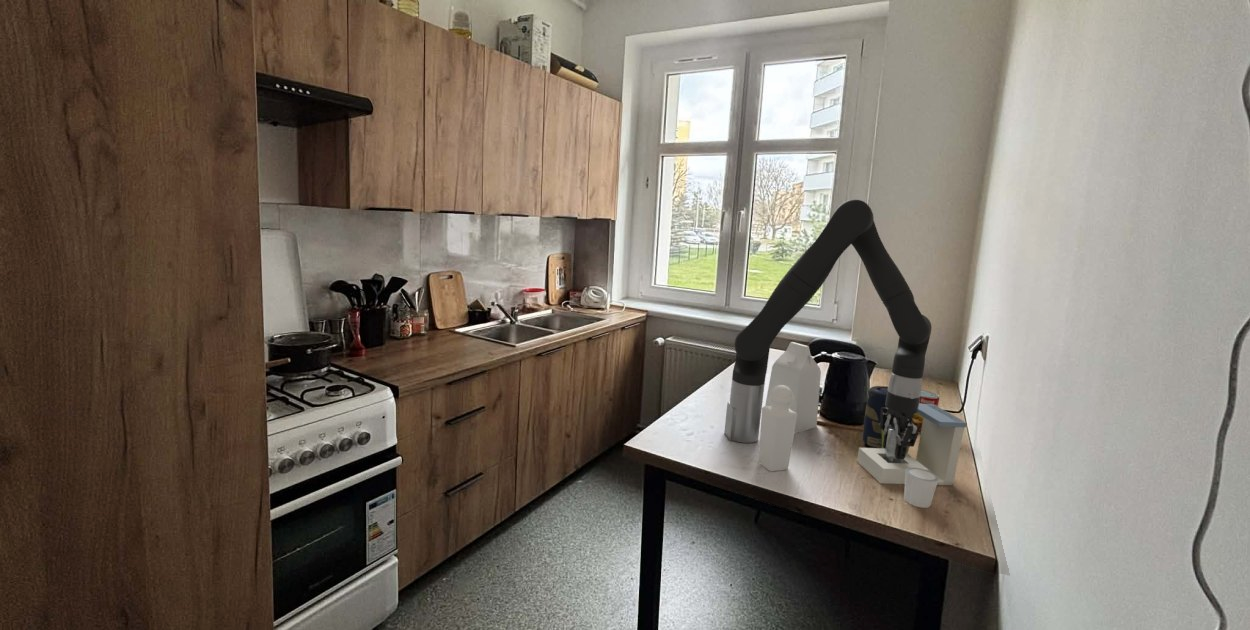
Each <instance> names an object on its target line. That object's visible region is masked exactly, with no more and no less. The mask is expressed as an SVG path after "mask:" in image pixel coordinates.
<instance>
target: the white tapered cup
mask: <svg viewBox="0 0 1250 630" xmlns="http://www.w3.org/2000/svg"><path fill="white" fill-rule="evenodd" d="M937 483H938V477H937V475H935V474H934V473H932V472H930V471H927V470H924V469H920V468H907V469H906V473H905V484H904V490H903V491H904V493H903V500H904V501H905V502H907V503H908V504H910V505H911V506H914V507H918V508H922V509H925V508H930V507H931V505H932V502H933V498H934V496H935V495H934V494H935V492H936V489H937V486H938V485H937Z"/></svg>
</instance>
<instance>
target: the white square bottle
mask: <svg viewBox="0 0 1250 630" xmlns="http://www.w3.org/2000/svg"><path fill="white" fill-rule="evenodd" d="M769 398H770V399H771V403H772V406H765V405H764V406H762V410H761V419H760V429H759V445H758V458H757V459H758V460H757V462H758V463H759V464H760V465H761V466H763V467H764V468H765V469H766V470H768V471H769V472H778V471H785V470H786V471H787V470H789V467H790V460H791V455H792V448H793V444H794V439H795V438H794V437H795V434H796V433H795V427H796V422H797V413H796V412H794V411H792V410H790V409H789V406H790V404H791V403H792V402H793V401H794V398H793V394H792V391H791V390H790V388H788V387H787V386H785V385H778V386H776V387H774V388H773V389H772V391H771V393H770V395H769Z"/></svg>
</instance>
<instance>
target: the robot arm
mask: <svg viewBox="0 0 1250 630" xmlns="http://www.w3.org/2000/svg"><path fill="white" fill-rule="evenodd" d="M851 245H852V247H853V248H854V249H855V250H856V251H855V252H857V254H858V256H859V258H860V259H861V262H862V264H863V265H864V268H865V270H866V273H867V275H868V277H869V279H870V281H871V283H872V286H873V287H874V290H875V291H876V293H877V294H878V297H879V299H880V301H881V302H882V304H883V305H884V307H885V308H886V310H887V312H888V315H889V318H890V320H891V321H890V322H891V323H892V326H893V328H894V330H895V332H896V333H897V335H898V343H897V349H896V352H895V354H894V356H893V362H892V368H891V373H890V377H889V379H888V385H887V387H888V390H887V396H886V402H885V406H886V407H887V408H886V407H881V413H880V429H881V430H883V433H884V441H883V448H884V449H885V448H886V442H887V436H888V430H889V427H892V428H894V429H895V435H896V436H897V439H898V444H897V448H896V454H895V457H896V458H897V459H904V458H905V456H906V450H907V447H908V446H910V447H914V446H915V445H916V442H917V438H918V436H919V434H920V433H919V430H920V427H919V426H915V425H914V424H913V419H912V415H913V414H914V413H916V412H917V411H918V406H919V401H920V395H921V390H923V388H922V387H923V376H924V371H925V366H926V365H925V363H926V362H925V361H926V353H927V350H928V347H929V342H930V338H931V335H932V323H931V321H930V319H929V318H928V317H927V316H925V315H924V314H922V312H921V310H920V309H919V307H918V305H917V303H916V302H915V296H914V294H913V292H912V290H911V288H910V286H909V285H908V282H907V281H906V279H905V277H904V275H903V273H902V272H901V271H900V269H899V268H898V267H899V266H897V264H896V263H895V261H894V260H893V259H892V256H890V253H889V252H888V250H887V249H886V248H885V247H886V246H885V245H884V243H883V242H882V240H881V237H880V235H879V231H878V229H877V227H876V223H875V221H874V213H873V210H872V209H871V207H870V205H869V204H868V203H867V202H866V201H863V200H862V199H857V198H856V199H855V198H854V199H849V200H847V201H843V202H842V203H841V204H840V205H839V206H837V208H836V210H835V211H834V212H833V214H832V216H831V217H830V218H829V221H828V222H827V224H826V225H825V227H824V228H823V229H822V231H821V233H820V234H819V235H818V237H816V240H815V241H814V242H813V243H812V244H811V245H809V247H808V248H807V249H806V250H805V251H804V252H803V254H802V255H800V257H799V258H798V259H797V260H796V262H795V263H794V264H793V265H792V266H791V267H790V268H789V270H788V271H787V272H786V274H785V275H784V276H783V277H782V278H781V280H780V281H779V282H778V284H777V285H776V287H775V288H774V290H773V291H772V293H771V295H770V296H769V298H768V299H767V301H766V303H765V304H764V306H763V308H762V309H761V310H760V312H759V313H758V314H757V315H756V316H755V317H754V319H752V320H751V322H750V323H749V324H747V325H746V326H745V327H743V328H741V330H740V331H739V332H738V333H737V335H736V336H735V339H734V351H735V352H736V353H735V362H734V365H733V370H732V377H731V387H730V395H729V401H727V405H726V415H725V423H724V434H725V435H726V436H727V439H728V440H729V441H735V442H736V443H737V442H738V443H741V444H743V443H744V444H752V443H756V442H757V441H758V440H759V437H760V428H761V416H762V408H763V402H764V401H763V400H764V391H765V385H766V377H767V376H766V375H767V371H768V365H769V357H770V348H771V345H772V344H773V342H774V341H775V339H776V337H778V335H779V333H780V332H781V330H782V329H784V327H785V326H786V325H787V324H788V323H789V322H790V321H791V320H792V319H793V318H794V317H795V316H796V315H797V314H798V313H799V312H800V311H801V310H802V309H803V308H804V307H805V306H806V305H807V303H808V302H810V300H811V299H812V298H813V297H814V295H816V293H817V292H818V291H819V290H820V288H821V287H822V285H823V284H824V282H825V281H826V280H827V278H828V276H829V275H830V273H831V271H832V270H833V269H834V266H835V264H836V263H837V261H838V259H839V258H840V257H841V256H842V254H843V253H845V251H846V250H847V249H848V248H849V247H850V246H851ZM884 421H886V423H885V425H884ZM900 431H906V433H900ZM902 436H904V439H903V441H902ZM909 439H911V440H910V441H909Z"/></svg>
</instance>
